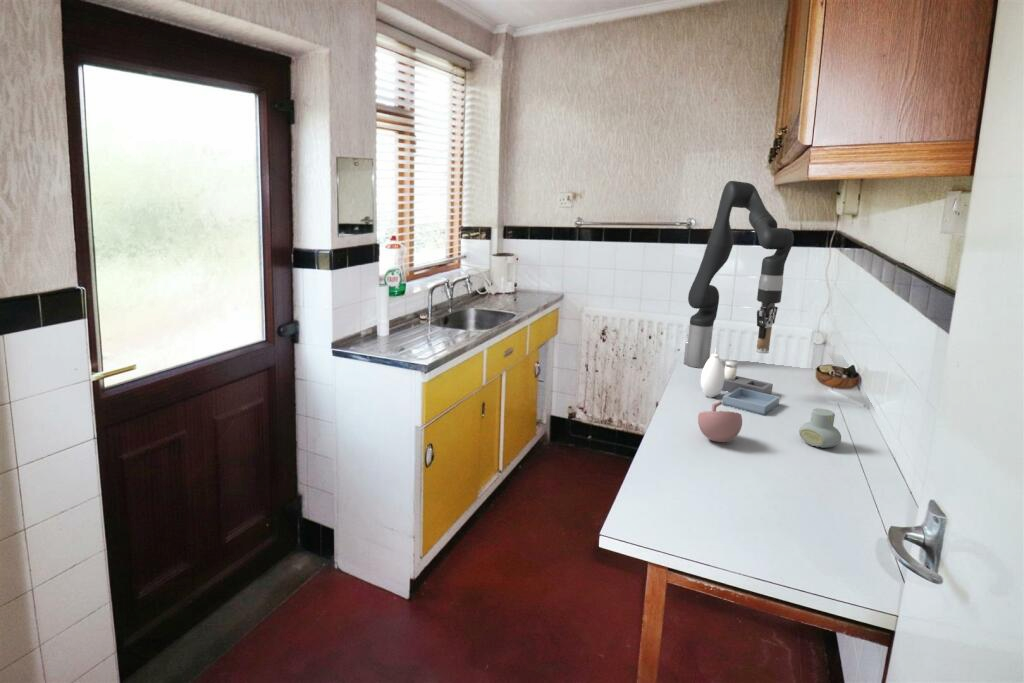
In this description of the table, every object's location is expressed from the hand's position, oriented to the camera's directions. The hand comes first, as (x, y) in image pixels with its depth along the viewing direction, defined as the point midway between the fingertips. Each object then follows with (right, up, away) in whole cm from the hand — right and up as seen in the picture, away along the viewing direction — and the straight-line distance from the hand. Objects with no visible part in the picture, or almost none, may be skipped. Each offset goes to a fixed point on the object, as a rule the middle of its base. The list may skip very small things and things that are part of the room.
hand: (764, 337), depth 213 cm
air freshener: (+2, -31, -34) cm, 46 cm away
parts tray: (-6, -23, -3) cm, 24 cm away
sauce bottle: (-17, -21, +4) cm, 27 cm away
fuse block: (-4, -20, +11) cm, 23 cm away
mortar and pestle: (-27, -30, -34) cm, 53 cm away
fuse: (-7, -19, +14) cm, 25 cm away
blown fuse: (0, -5, +1) cm, 5 cm away
